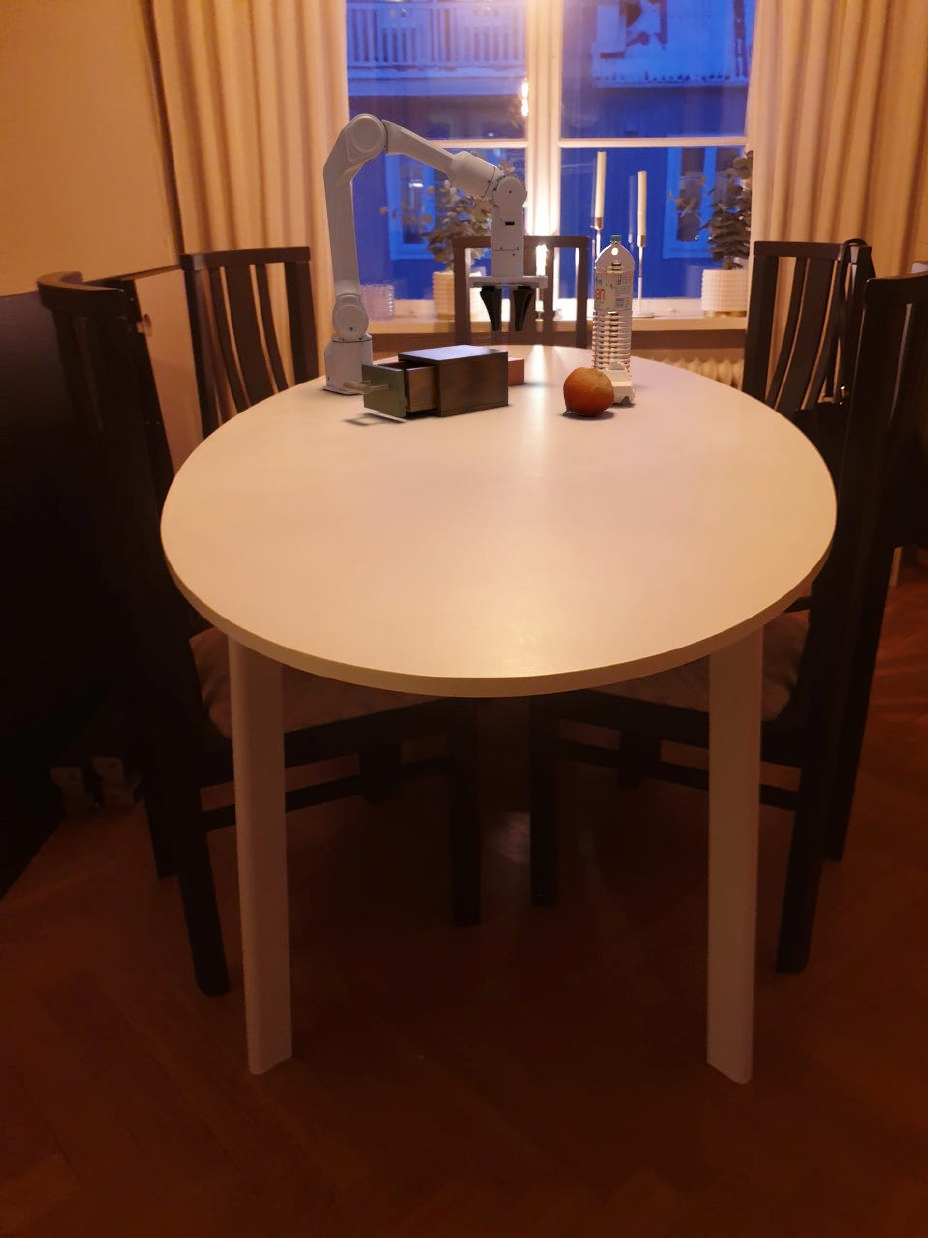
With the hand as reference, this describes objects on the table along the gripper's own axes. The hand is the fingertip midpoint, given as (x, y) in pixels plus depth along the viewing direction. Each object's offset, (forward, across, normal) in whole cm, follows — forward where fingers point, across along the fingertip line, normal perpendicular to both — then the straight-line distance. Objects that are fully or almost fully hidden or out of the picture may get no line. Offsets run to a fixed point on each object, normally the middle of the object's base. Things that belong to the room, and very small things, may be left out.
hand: (507, 330), depth 164 cm
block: (+9, 0, 0) cm, 9 cm away
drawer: (+9, -6, -32) cm, 34 cm away
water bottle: (+10, +19, +1) cm, 21 cm away
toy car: (+10, +23, -12) cm, 28 cm away
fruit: (+10, +22, -24) cm, 34 cm away
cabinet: (+9, -1, -23) cm, 25 cm away
